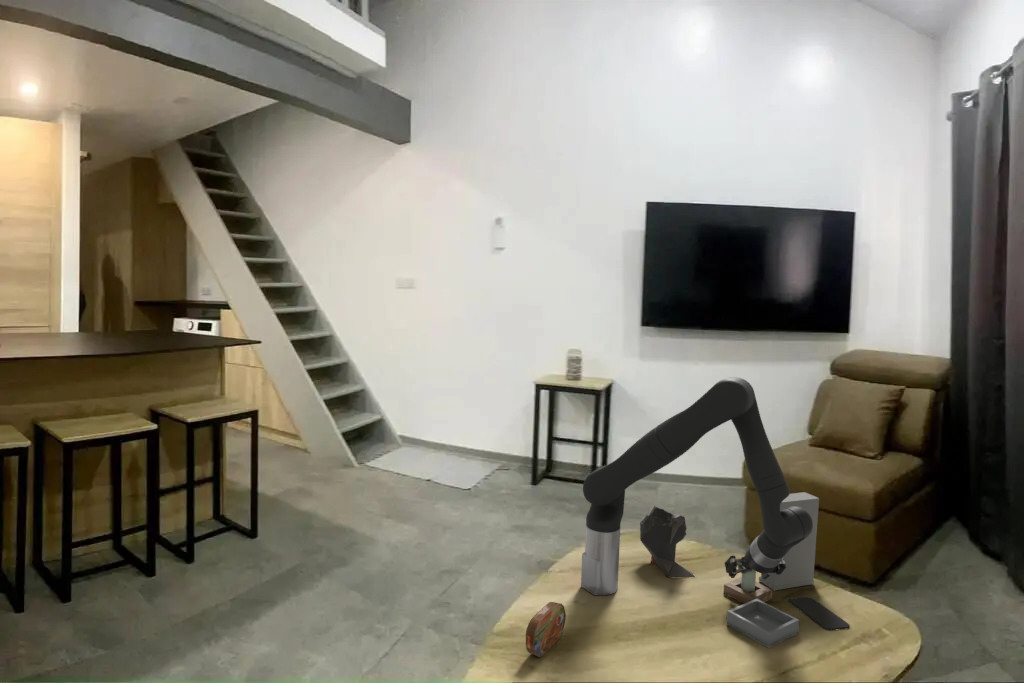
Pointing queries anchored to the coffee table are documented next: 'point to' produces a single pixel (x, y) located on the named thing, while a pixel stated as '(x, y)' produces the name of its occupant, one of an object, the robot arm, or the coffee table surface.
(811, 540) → the tall grey upright box
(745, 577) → the pale green rounded cylinder
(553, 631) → the tin
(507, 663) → the coffee table surface
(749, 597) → the brown hollow square block
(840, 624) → the phone
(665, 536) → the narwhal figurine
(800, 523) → the robot arm
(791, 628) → the tray
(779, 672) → the coffee table surface
